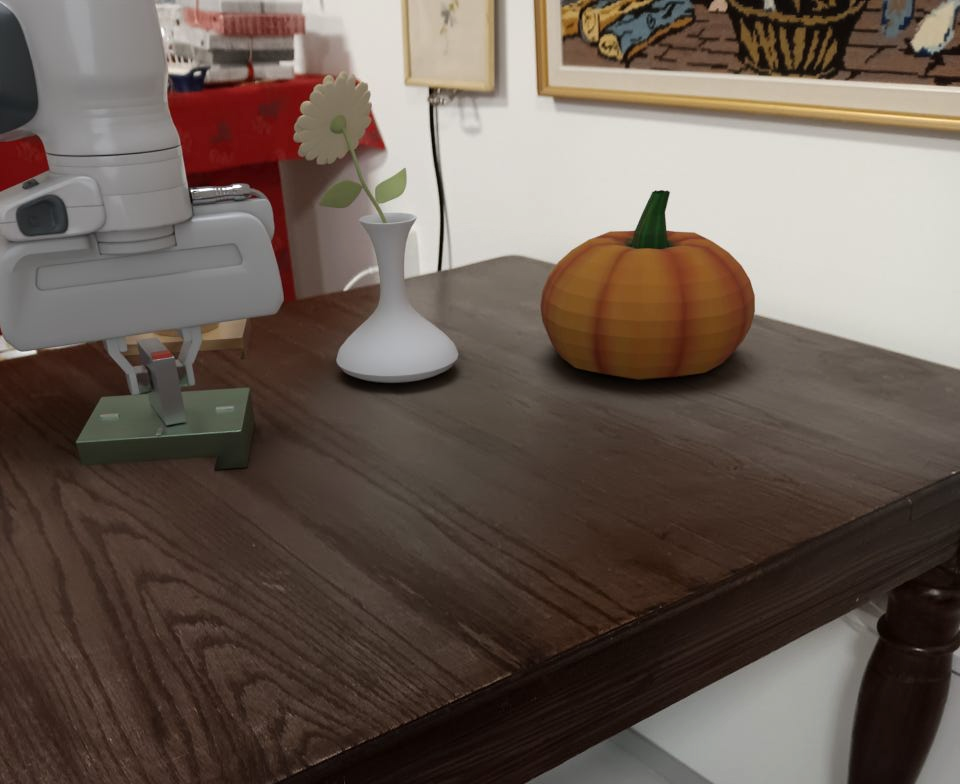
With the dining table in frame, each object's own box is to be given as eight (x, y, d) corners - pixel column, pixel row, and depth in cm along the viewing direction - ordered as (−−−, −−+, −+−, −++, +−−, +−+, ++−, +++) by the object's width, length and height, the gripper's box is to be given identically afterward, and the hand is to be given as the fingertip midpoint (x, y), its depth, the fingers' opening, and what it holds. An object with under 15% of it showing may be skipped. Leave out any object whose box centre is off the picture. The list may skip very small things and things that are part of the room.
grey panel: (149, 402, 79) (135, 336, 76) (169, 399, 80) (156, 333, 77) (166, 426, 75) (152, 357, 72) (187, 422, 75) (174, 353, 73)
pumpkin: (503, 374, 93) (500, 201, 85) (599, 324, 106) (605, 171, 98) (696, 410, 83) (714, 220, 75) (775, 350, 97) (798, 183, 89)
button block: (121, 367, 97) (112, 326, 95) (138, 338, 106) (129, 300, 104) (245, 359, 99) (239, 318, 96) (251, 331, 107) (246, 293, 105)
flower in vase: (430, 349, 100) (415, 63, 86) (479, 381, 91) (470, 68, 78) (306, 370, 95) (269, 71, 82) (344, 405, 87) (310, 77, 73)
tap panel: (84, 480, 74) (74, 440, 72) (109, 431, 83) (100, 394, 81) (247, 468, 75) (240, 428, 74) (255, 421, 84) (249, 384, 82)
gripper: (255, 175, 75) (280, 356, 83) (-37, 202, 67) (19, 399, 75) (281, 186, 70) (304, 377, 78) (-30, 216, 63) (29, 425, 70)
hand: (162, 388), depth 76 cm, fingers closed
